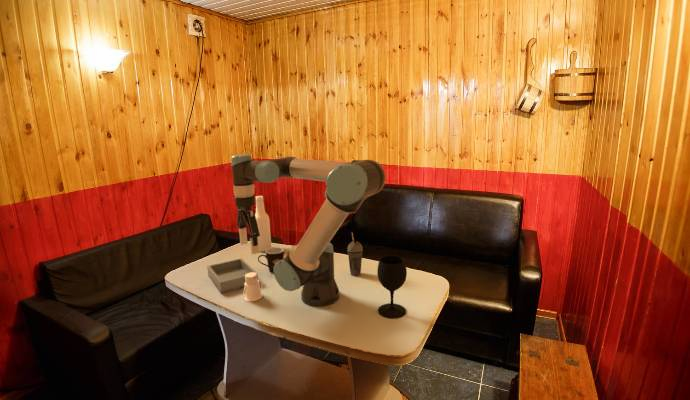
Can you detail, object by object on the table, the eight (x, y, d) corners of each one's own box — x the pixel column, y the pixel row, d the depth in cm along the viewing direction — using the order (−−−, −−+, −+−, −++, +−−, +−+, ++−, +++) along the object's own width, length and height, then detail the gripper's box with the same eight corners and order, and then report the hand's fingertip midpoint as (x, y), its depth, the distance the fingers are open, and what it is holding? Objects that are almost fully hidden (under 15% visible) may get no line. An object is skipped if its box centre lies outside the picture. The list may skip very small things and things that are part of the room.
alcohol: (273, 246, 208) (269, 194, 201) (268, 252, 199) (264, 198, 193) (258, 246, 209) (254, 194, 203) (252, 252, 200) (248, 198, 194)
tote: (258, 283, 161) (257, 273, 160) (221, 293, 152) (219, 282, 151) (242, 267, 179) (241, 258, 178) (208, 276, 171) (207, 265, 169)
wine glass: (371, 311, 135) (371, 260, 131) (389, 301, 142) (389, 252, 138) (394, 321, 128) (394, 268, 124) (412, 310, 135) (412, 259, 131)
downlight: (260, 291, 154) (257, 269, 151) (266, 297, 148) (263, 274, 146) (241, 297, 150) (238, 274, 147) (247, 304, 144) (243, 280, 142)
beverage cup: (366, 275, 166) (365, 233, 162) (351, 278, 163) (350, 235, 159) (359, 270, 173) (358, 229, 168) (345, 272, 170) (344, 231, 166)
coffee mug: (287, 267, 179) (286, 247, 176) (282, 274, 170) (281, 253, 168) (264, 266, 180) (262, 247, 178) (258, 274, 171) (256, 253, 169)
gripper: (265, 199, 132) (270, 255, 136) (244, 189, 152) (248, 238, 157) (245, 202, 128) (250, 260, 132) (225, 192, 149) (230, 242, 153)
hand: (249, 248), depth 145 cm, fingers open, 13 cm apart
